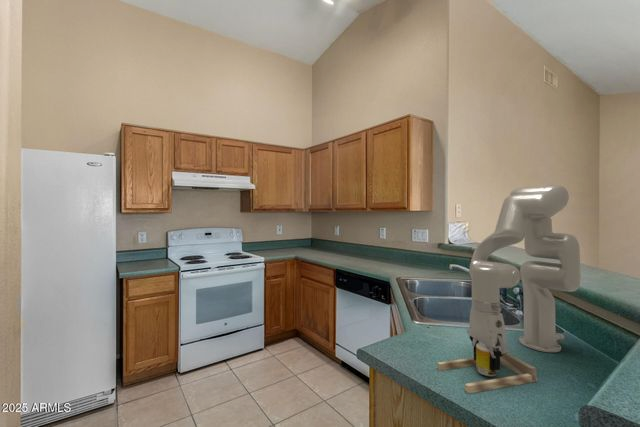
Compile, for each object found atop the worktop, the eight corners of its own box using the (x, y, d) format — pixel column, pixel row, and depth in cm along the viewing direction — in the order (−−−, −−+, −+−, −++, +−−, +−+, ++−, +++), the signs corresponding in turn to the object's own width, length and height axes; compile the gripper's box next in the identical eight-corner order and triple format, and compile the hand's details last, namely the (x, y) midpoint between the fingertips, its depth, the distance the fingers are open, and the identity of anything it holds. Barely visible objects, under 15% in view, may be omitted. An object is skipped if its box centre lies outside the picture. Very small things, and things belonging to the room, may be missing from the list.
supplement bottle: (491, 379, 85) (490, 344, 85) (472, 371, 90) (472, 338, 90) (500, 373, 88) (500, 339, 88) (482, 365, 93) (481, 333, 93)
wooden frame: (499, 359, 98) (498, 347, 98) (537, 381, 85) (537, 367, 85) (437, 368, 92) (437, 356, 92) (468, 393, 79) (468, 379, 79)
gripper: (520, 313, 82) (521, 378, 82) (474, 297, 98) (475, 350, 98) (498, 316, 80) (499, 381, 80) (455, 299, 97) (456, 353, 96)
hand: (486, 364), depth 89 cm, fingers closed on supplement bottle, 5 cm apart
